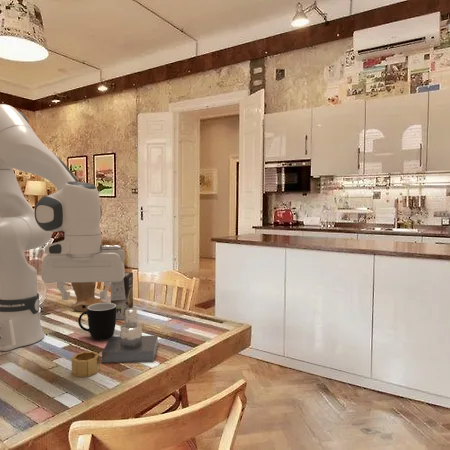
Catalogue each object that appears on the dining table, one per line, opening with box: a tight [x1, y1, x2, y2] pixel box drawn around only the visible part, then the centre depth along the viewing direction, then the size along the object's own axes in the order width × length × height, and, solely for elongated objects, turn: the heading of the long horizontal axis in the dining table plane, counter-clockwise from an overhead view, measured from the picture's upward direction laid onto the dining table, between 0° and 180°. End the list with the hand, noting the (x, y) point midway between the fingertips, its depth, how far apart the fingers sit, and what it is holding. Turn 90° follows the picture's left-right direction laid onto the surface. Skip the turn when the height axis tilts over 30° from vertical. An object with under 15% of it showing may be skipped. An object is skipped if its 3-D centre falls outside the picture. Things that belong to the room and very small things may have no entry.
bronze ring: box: [71, 350, 101, 378], centre depth 102 cm, size 6×6×4 cm
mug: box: [77, 302, 117, 341], centre depth 127 cm, size 12×9×10 cm
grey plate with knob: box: [101, 307, 159, 364], centre depth 114 cm, size 14×12×13 cm
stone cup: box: [70, 282, 103, 313], centre depth 159 cm, size 15×12×15 cm
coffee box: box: [110, 271, 134, 321], centre depth 149 cm, size 9×6×16 cm
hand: (84, 298), depth 101 cm, fingers open, 8 cm apart
